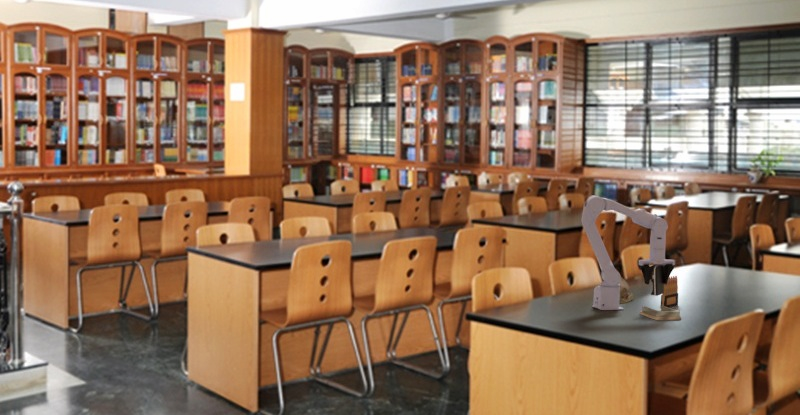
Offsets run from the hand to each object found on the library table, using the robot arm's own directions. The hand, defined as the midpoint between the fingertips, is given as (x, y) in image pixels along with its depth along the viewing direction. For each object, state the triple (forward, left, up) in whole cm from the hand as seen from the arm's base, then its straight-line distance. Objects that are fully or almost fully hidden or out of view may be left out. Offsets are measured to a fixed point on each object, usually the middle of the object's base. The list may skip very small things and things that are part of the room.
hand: (655, 283), depth 352 cm
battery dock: (-5, -12, -10) cm, 16 cm away
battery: (0, 0, -4) cm, 4 cm away
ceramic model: (-4, +23, -11) cm, 25 cm away
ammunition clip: (+10, +6, -10) cm, 16 cm away
